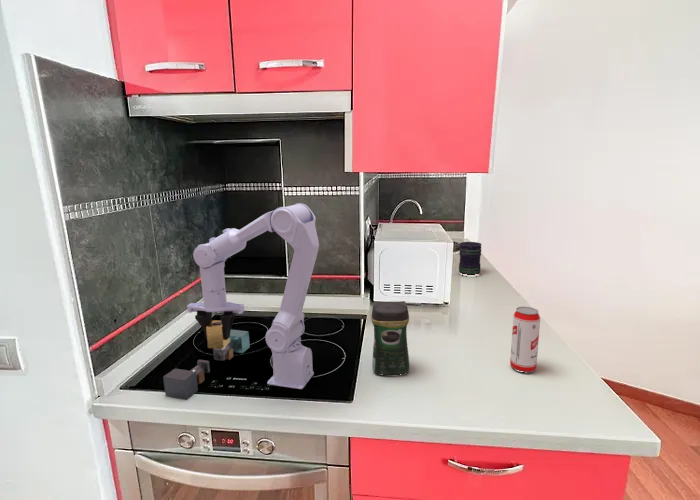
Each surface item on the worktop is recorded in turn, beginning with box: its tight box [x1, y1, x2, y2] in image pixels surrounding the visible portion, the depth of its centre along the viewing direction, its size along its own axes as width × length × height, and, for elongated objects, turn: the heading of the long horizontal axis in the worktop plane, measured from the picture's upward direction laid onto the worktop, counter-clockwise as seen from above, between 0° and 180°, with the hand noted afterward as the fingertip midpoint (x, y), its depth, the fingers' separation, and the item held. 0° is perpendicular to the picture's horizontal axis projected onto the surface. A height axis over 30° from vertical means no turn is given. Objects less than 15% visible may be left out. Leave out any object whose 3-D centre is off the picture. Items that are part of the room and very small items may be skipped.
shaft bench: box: [162, 329, 251, 401], centre depth 106 cm, size 6×28×5 cm, turn 163°
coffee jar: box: [370, 300, 410, 376], centre depth 102 cm, size 10×8×19 cm
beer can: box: [509, 306, 541, 373], centre depth 102 cm, size 6×6×16 cm
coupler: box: [206, 319, 230, 349], centre depth 105 cm, size 4×4×6 cm
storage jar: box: [458, 241, 482, 275], centre depth 188 cm, size 10×10×15 cm
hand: (218, 337), depth 105 cm, fingers closed on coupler, 4 cm apart
